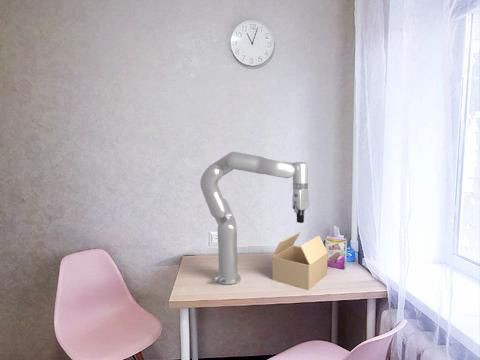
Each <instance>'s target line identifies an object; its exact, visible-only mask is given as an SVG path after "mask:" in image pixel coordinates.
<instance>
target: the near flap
mask: <svg viewBox="0 0 480 360" xmlns="http://www.w3.org/2000/svg"><path fill="white" fill-rule="evenodd" d="M299 247H301V249H302V251H303V253H304V255H305V257H306V260H307V262H308V264H309V265H311V264H312V263H313V262H315V261H316V260H318V259H319V258H320V257H322V256H323V255H325V254H326V253H328V252H327V250H326V248H325V243H324V242H323V239H322V238H321V236H320V235H317V236H315V237H313V238H312V239H309V240H308V241H306V242H304V243H303V244H301V245H299Z"/></svg>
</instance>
